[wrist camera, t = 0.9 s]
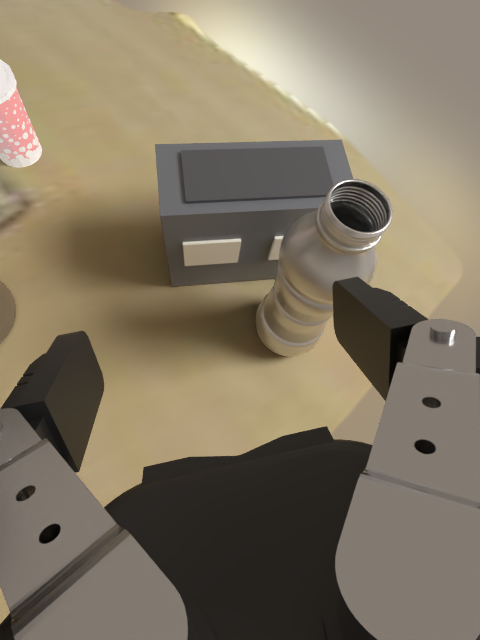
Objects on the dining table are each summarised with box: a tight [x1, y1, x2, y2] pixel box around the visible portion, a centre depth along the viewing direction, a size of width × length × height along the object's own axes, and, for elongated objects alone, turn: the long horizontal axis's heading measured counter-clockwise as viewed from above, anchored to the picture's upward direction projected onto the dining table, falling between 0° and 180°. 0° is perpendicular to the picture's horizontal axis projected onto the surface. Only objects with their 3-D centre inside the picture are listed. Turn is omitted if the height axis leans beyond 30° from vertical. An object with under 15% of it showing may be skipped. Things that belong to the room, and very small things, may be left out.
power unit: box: [155, 140, 353, 287], centre depth 36 cm, size 7×16×12 cm, turn 98°
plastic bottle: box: [256, 179, 392, 356], centre depth 29 cm, size 6×7×20 cm
